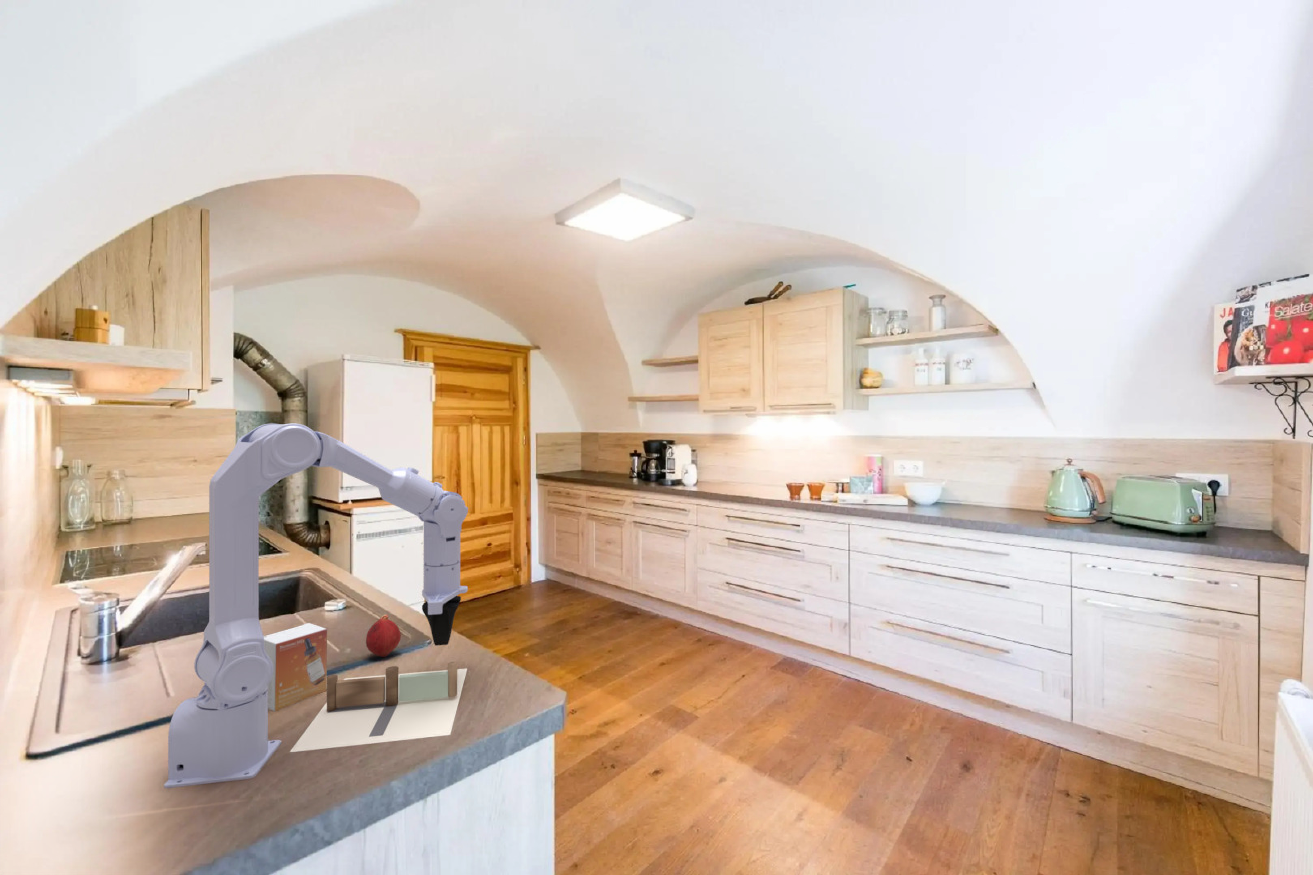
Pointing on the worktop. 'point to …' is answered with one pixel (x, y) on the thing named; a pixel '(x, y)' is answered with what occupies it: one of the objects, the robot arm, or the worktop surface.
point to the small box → (296, 664)
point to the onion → (383, 637)
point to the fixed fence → (363, 690)
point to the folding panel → (429, 684)
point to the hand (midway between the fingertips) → (441, 643)
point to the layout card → (382, 721)
